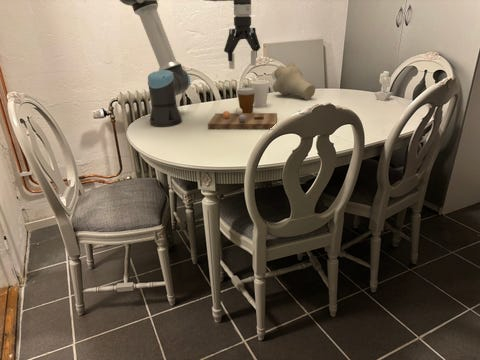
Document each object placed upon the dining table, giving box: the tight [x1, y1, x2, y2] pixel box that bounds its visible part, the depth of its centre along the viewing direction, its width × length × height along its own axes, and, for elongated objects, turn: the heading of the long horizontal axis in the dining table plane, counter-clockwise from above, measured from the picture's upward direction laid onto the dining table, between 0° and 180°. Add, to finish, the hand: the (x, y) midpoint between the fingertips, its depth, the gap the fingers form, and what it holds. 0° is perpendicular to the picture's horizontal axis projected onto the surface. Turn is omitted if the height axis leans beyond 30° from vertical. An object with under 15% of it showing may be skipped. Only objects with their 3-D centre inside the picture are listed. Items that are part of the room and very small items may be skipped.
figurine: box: [373, 70, 394, 101], centre depth 192 cm, size 7×9×15 cm
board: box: [207, 112, 278, 130], centre depth 163 cm, size 30×18×2 cm, turn 83°
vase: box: [272, 62, 316, 100], centre depth 204 cm, size 22×22×28 cm
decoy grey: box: [238, 114, 246, 122], centre depth 156 cm, size 3×3×3 cm
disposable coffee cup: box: [236, 86, 255, 113], centre depth 179 cm, size 10×10×12 cm
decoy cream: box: [234, 107, 242, 115], centre depth 167 cm, size 3×3×3 cm
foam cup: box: [250, 79, 270, 109], centre depth 189 cm, size 10×9×13 cm
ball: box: [222, 110, 231, 118], centre depth 162 cm, size 3×3×3 cm
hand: (242, 67), depth 161 cm, fingers open, 13 cm apart
